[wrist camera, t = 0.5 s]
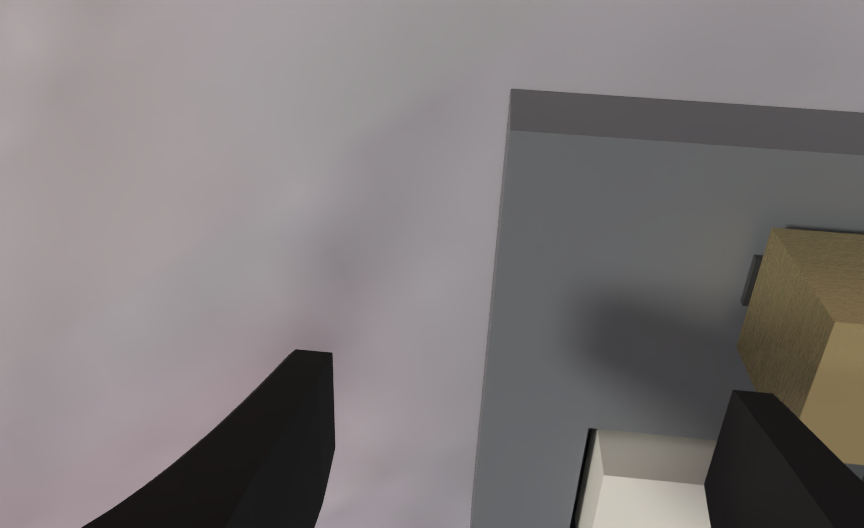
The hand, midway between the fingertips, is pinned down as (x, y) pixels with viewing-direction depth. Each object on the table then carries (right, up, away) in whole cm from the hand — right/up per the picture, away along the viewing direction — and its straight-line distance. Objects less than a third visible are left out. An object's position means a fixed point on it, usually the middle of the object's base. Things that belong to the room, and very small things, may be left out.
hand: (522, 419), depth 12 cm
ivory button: (+5, -3, +9) cm, 11 cm away
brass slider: (+7, +2, +4) cm, 8 cm away
